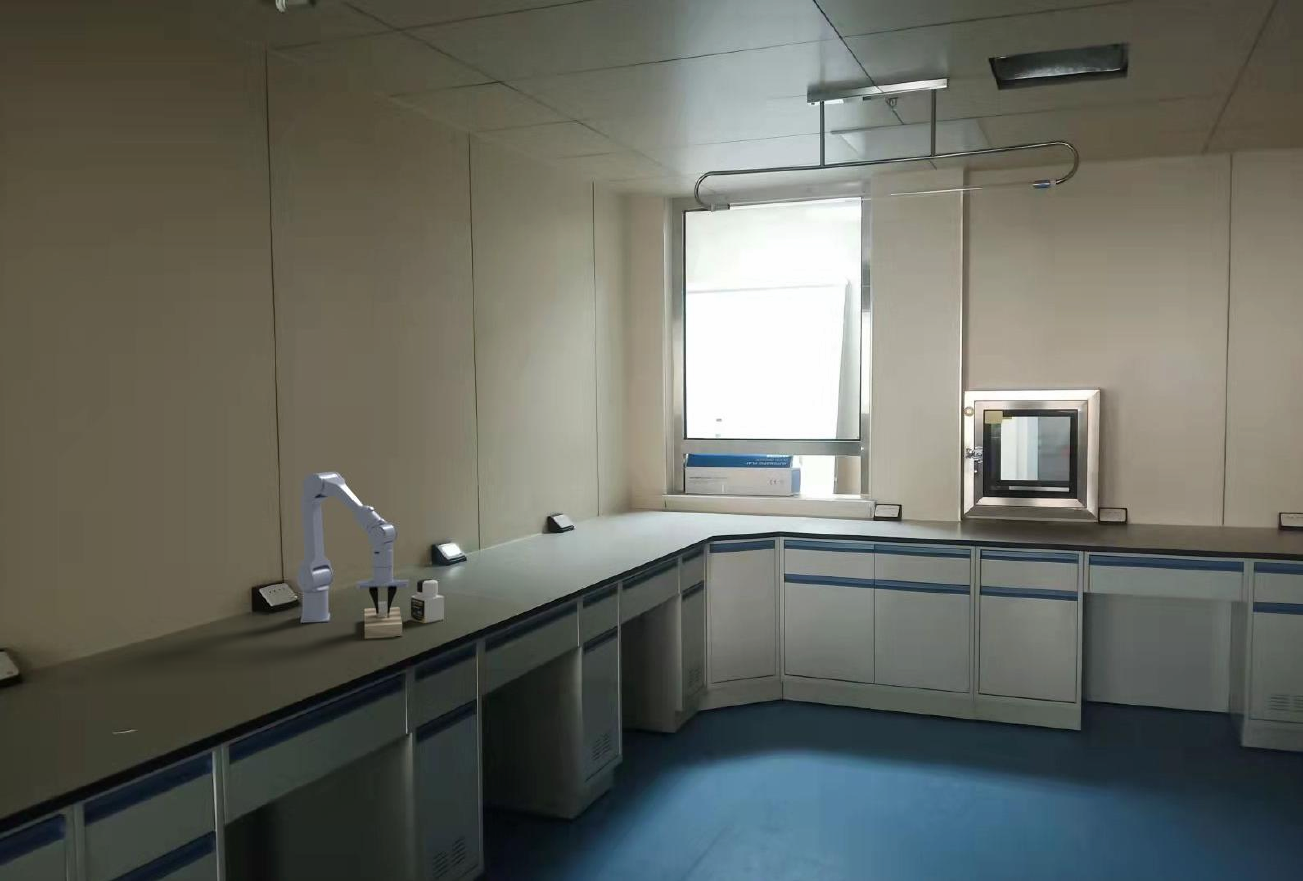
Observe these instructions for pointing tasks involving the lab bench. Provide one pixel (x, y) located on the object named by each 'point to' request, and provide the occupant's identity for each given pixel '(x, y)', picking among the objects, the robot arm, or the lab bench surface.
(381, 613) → the grey rectangular prism
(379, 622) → the beige slab
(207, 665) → the lab bench surface
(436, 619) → the medicine bottle
